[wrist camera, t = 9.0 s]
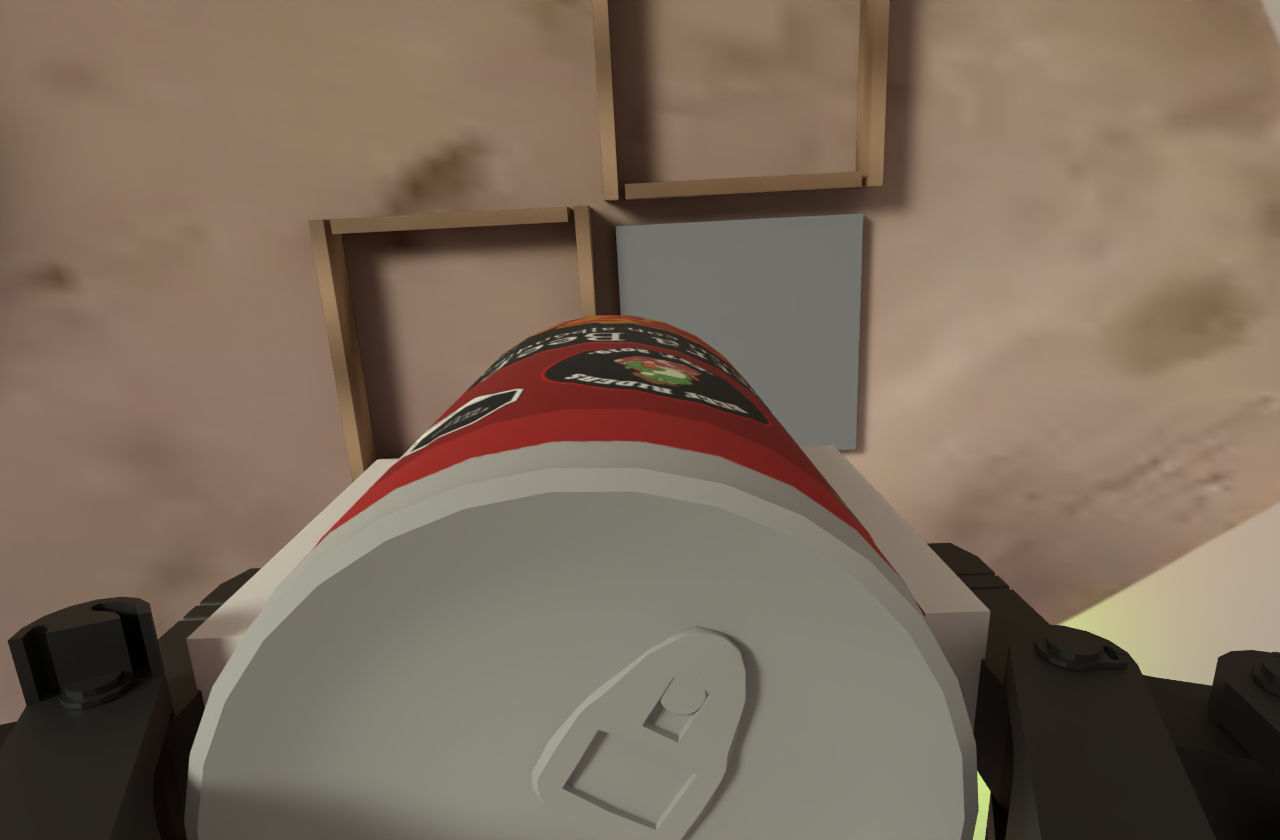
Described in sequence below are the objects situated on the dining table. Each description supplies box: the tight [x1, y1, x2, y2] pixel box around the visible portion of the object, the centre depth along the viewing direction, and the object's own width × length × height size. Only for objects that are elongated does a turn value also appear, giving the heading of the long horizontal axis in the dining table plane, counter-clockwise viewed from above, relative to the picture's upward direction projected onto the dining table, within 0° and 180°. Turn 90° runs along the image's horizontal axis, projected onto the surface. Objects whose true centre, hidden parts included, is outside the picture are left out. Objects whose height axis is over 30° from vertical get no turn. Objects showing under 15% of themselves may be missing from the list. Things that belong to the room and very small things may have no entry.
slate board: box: [616, 213, 863, 450], centre depth 34 cm, size 11×11×1 cm
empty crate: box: [592, 0, 890, 201], centre depth 30 cm, size 12×12×2 cm
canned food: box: [184, 315, 978, 840], centre depth 12 cm, size 8×8×11 cm
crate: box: [309, 206, 597, 482], centre depth 33 cm, size 12×12×2 cm
